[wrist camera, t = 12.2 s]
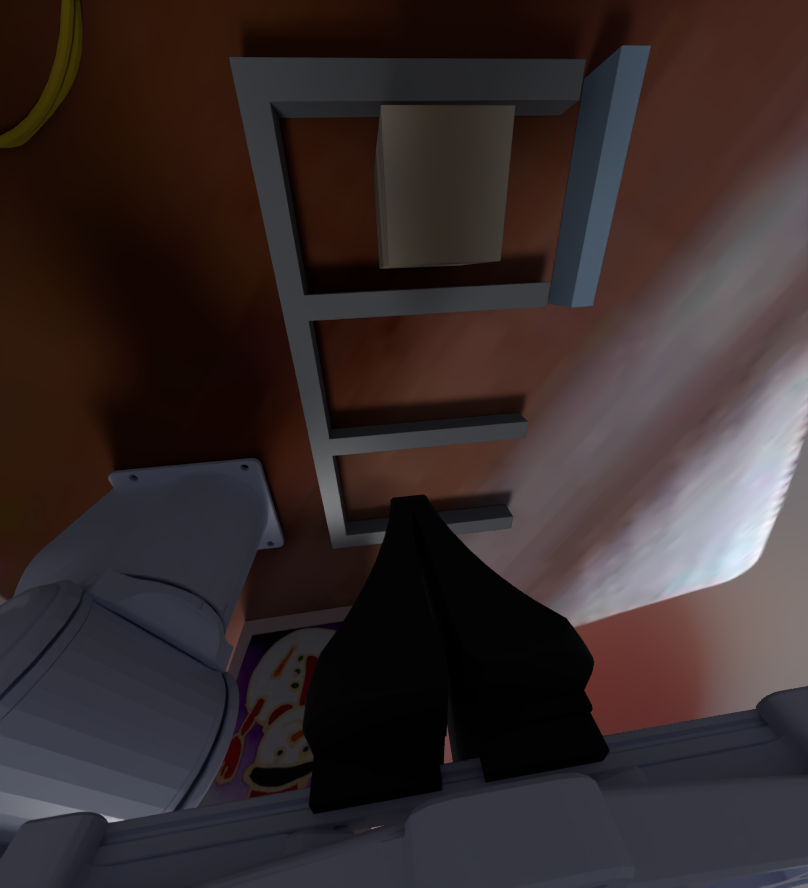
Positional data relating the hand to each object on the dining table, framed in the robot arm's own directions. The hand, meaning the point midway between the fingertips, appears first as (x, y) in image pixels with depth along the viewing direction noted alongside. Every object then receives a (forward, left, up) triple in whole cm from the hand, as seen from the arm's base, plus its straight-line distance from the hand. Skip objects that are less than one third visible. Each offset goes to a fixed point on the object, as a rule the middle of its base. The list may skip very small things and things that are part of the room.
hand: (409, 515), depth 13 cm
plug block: (+2, +11, -10) cm, 15 cm away
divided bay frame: (+3, +3, -10) cm, 11 cm away
